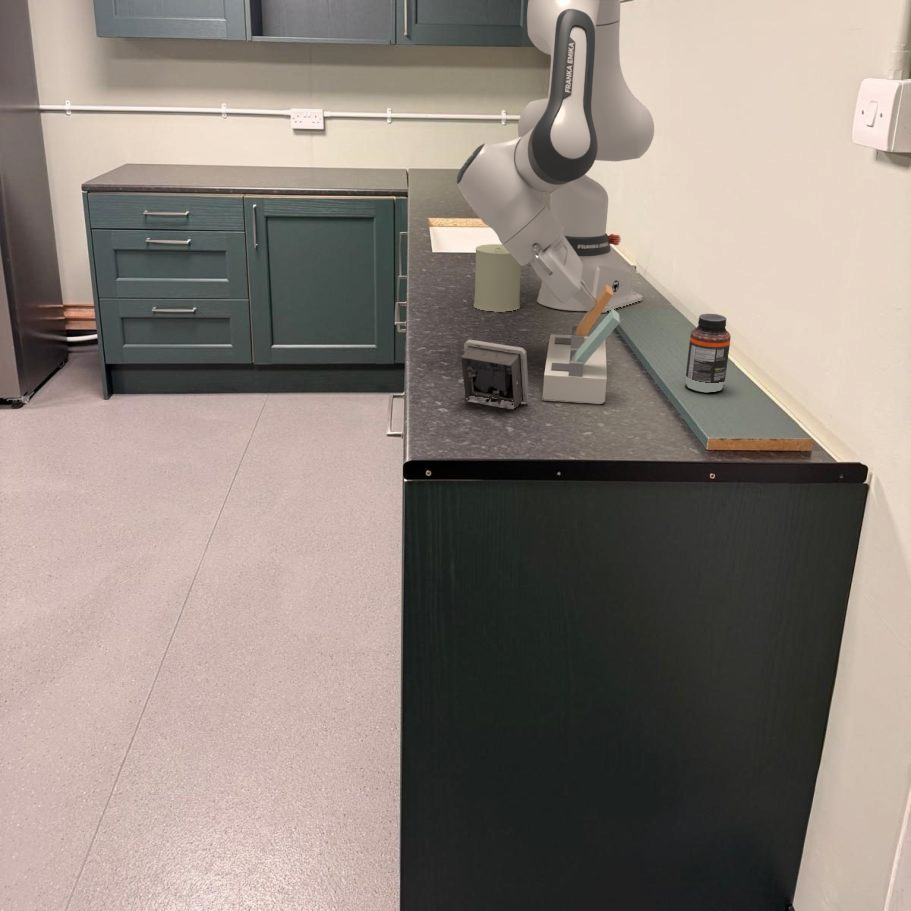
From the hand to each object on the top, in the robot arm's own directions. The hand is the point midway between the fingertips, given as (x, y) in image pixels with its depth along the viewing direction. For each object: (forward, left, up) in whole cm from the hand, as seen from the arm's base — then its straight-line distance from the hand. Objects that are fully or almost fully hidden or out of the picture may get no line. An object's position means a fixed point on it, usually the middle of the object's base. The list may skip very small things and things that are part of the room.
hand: (592, 306), depth 153 cm
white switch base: (+4, +1, -10) cm, 11 cm away
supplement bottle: (-8, +17, -10) cm, 22 cm away
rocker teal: (+11, +8, -5) cm, 15 cm away
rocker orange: (+1, -2, -5) cm, 6 cm away
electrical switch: (+24, +5, -10) cm, 27 cm away
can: (-13, -39, -10) cm, 42 cm away
